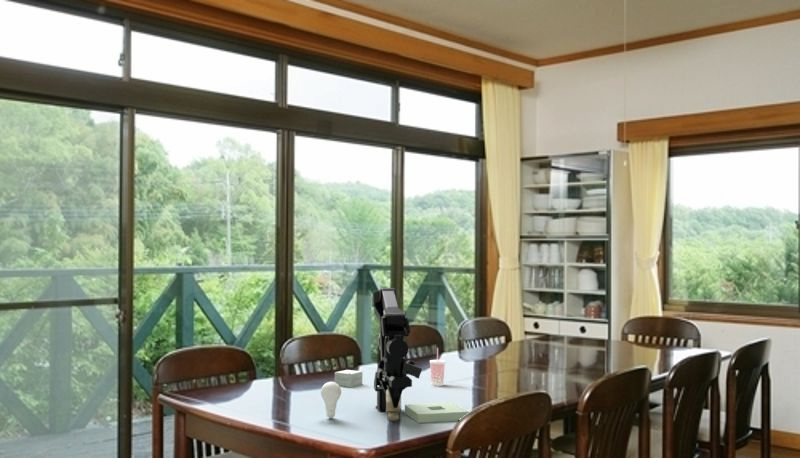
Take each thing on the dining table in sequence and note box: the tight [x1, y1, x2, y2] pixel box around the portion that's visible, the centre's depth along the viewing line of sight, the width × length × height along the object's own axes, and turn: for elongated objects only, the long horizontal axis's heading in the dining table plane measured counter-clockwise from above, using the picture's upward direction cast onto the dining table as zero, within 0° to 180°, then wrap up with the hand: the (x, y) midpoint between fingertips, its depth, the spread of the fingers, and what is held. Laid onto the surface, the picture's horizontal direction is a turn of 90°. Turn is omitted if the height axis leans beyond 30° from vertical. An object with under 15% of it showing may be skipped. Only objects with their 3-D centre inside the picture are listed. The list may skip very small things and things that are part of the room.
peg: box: [385, 389, 402, 422], centre depth 225 cm, size 5×5×9 cm
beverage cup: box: [429, 347, 446, 387], centre depth 284 cm, size 6×6×14 cm
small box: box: [334, 369, 363, 388], centre depth 282 cm, size 8×8×5 cm
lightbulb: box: [320, 381, 342, 419], centre depth 226 cm, size 6×6×11 cm
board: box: [404, 401, 470, 424], centre depth 230 cm, size 16×14×2 cm
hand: (393, 406), depth 225 cm, fingers closed on peg, 4 cm apart
